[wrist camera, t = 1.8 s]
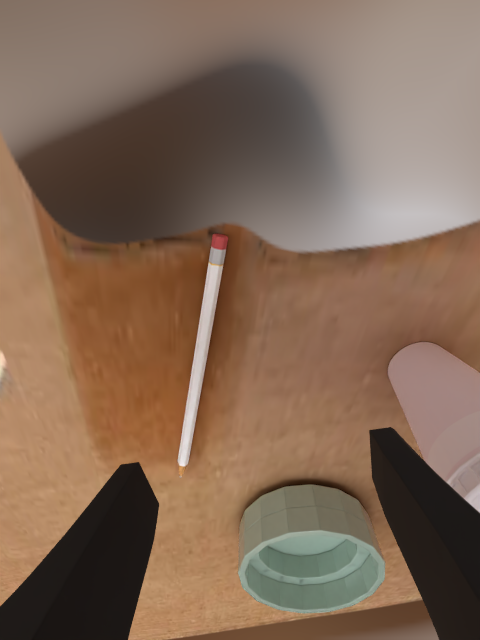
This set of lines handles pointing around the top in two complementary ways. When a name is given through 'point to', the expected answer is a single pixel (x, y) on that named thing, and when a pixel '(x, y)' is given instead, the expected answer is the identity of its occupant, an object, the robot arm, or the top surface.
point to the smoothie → (442, 412)
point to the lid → (308, 550)
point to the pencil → (202, 345)
